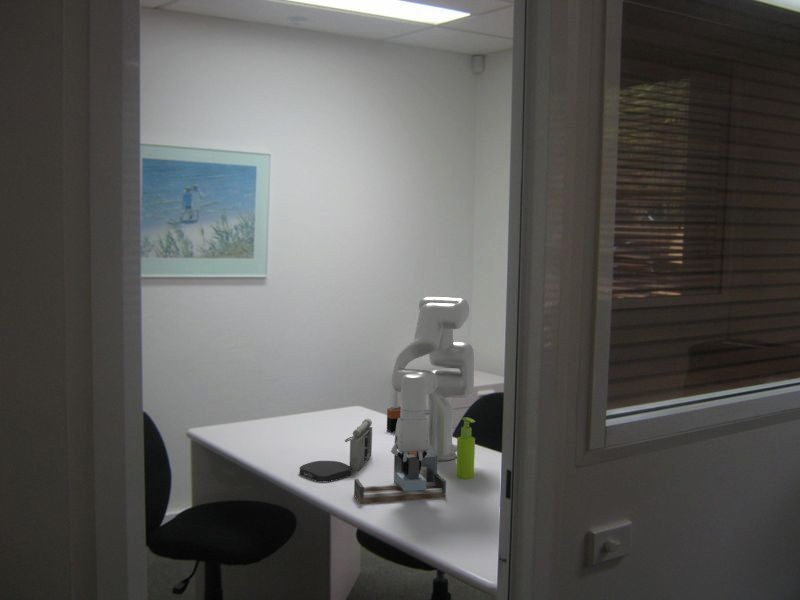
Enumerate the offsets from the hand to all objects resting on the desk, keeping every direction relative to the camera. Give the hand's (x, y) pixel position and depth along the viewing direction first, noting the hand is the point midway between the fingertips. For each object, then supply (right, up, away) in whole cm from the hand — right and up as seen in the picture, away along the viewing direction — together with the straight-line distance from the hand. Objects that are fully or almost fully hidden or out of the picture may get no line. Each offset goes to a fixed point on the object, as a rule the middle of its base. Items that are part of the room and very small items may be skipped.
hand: (411, 472), depth 249 cm
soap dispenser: (+18, -6, +21) cm, 28 cm away
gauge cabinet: (+1, -6, +11) cm, 13 cm away
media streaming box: (-28, -5, +20) cm, 35 cm away
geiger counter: (-17, -4, +36) cm, 40 cm away
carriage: (0, -4, 0) cm, 4 cm away
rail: (-4, -7, 0) cm, 8 cm away
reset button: (+2, +2, +11) cm, 11 cm away
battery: (-5, 0, +80) cm, 80 cm away
